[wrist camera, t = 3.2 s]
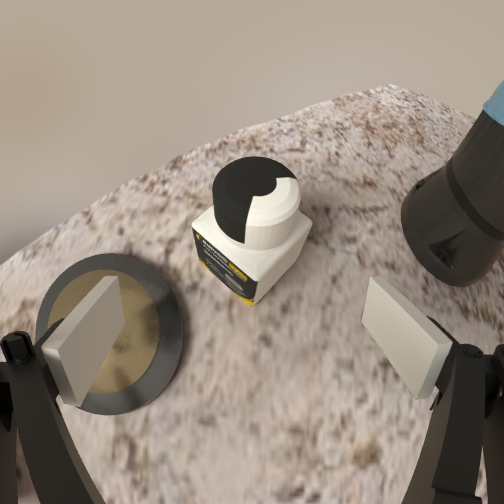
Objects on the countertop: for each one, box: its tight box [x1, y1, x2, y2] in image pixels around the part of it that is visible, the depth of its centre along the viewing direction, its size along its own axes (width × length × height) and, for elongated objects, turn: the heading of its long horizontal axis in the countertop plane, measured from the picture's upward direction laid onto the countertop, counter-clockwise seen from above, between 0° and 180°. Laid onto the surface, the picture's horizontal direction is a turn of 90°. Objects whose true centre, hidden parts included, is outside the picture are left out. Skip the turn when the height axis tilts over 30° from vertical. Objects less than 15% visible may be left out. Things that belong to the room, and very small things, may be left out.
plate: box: [36, 253, 184, 415], centre depth 25 cm, size 16×16×2 cm
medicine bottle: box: [192, 157, 313, 306], centre depth 25 cm, size 7×7×12 cm
